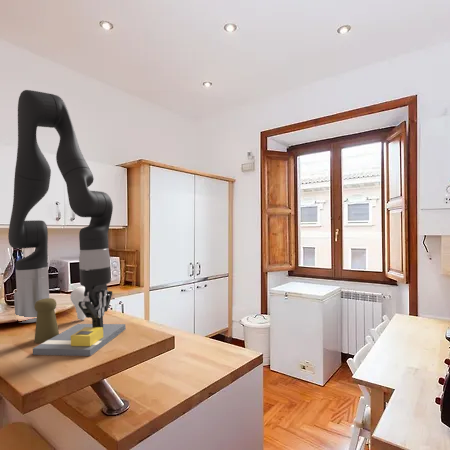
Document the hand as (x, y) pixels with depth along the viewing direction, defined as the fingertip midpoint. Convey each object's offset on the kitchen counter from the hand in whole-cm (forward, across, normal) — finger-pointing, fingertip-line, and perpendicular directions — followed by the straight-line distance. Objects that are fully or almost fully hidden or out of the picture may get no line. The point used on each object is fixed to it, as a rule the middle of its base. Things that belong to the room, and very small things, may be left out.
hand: (98, 331), depth 82 cm
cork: (+3, -1, -16) cm, 16 cm away
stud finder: (+1, +5, 0) cm, 5 cm away
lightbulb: (+3, -17, -16) cm, 23 cm away
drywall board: (+2, 0, -4) cm, 5 cm away
